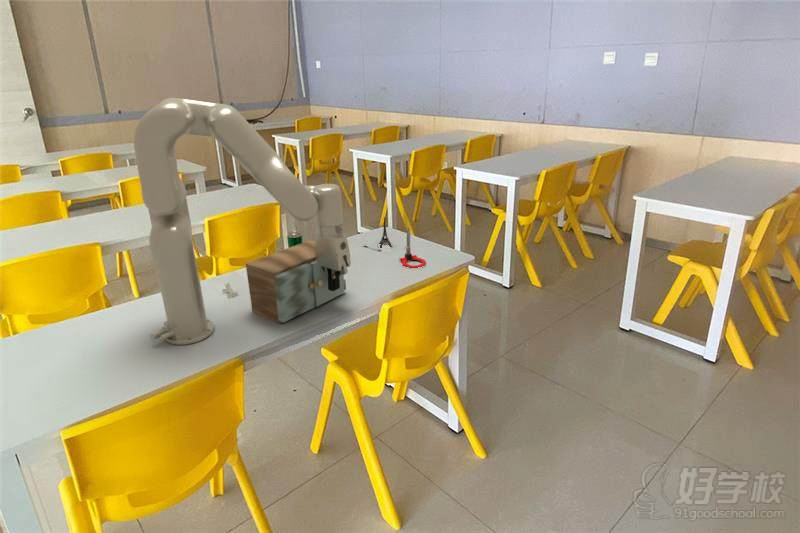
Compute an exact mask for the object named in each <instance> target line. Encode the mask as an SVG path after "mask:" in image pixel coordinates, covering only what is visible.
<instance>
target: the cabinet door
mask: <svg viewBox="0 0 800 533" xmlns="http://www.w3.org/2000/svg"><path fill="white" fill-rule="evenodd" d="M310 264H311V266H312V277H313V283H314V284H315V285H316V287H315V289H314V300H315V307H319V306H321V305H323V304H325V303H328V302H329V301H330V300H333V299H335V298H336V297H339V296H340V295H342V294H344V293H345V292H346V290H347V284H346V283H347V282H346V279H345V278H344V275H341V276H339V280H340V288H339V289H337V290H335V291H331V290H328V279H327V278H328V277H326V275H325V272H324V270H323V266H320V265H319V262H318V261H313V262H311V263H310Z"/></svg>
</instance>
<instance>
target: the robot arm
mask: <svg viewBox="0 0 800 533" xmlns="http://www.w3.org/2000/svg"><path fill="white" fill-rule="evenodd" d="M187 135H190V136H191V135H193V136H199V137H212V138H214V139H215V140H216V142H218V143H219V144H220V145H221V146H222V147H223V148H224V149H225V151H227V152H228V153H229V154H230V155H231V157H232V158H234V160H236V161H237V162H238V163H239V164H240V165H241V167H242V168H243V169H245V171H246V172H247V173H248V174H249V175H250V176H251V177H252V178H253V179H254V180H255V181H256V182H257V183H258V184H260V185H261V186H262V187H263V188H264V189H265V190H266V191H267V192H268V193H269V194H270V195H271V197H272V198H274V200H275V201H276V202H277V203H278V204H280V206H281V207H283V209H284V210H285V211H286V212H287V213H288V214H289V215H291V217H292V218H293V219H295V220H297V221H299V222H309V221H310V220H313V219H314V223H315V236H314V242H315V258H316V261H318V262H319V265H320V266H323V270H324V272H325V275H326V277H328V278H327V279H328V290H331V291H335V290H337V289H339V288H340V280H339V276H341V275H347V274H349V271H348V268H350V266H351V265H352V264H351V263H352V262H351V261H352V260H351V253H350V246H349V241H348V238H347V234H346V233H345V232H346V230H345V228H344V219H343V217H344V216H343V204H342V203H343V202H342V191H341V188H340V186H339V185H338V184H334V183H322V184H318V185H304V184H303V183H302V182H301V181H300V180H299V179H298V178H297V176H295V174H294V173H293V172H292V171H291V170H290V169H289V168H288V166H287V165H286V164H285V162H284V161H283V160H282V158H281V157H280V156H279V154H278V153H277V152H276V151H275V150H274V149H273V148H272V146H270V145H269V143H268V142H267V141H266V140H265V139H264V138H263V136H262V135H260V134H259V132H258V131H257V130H256V129H255V128H254V127H253V126H252V125H251V124H250V122H248V121H247V120H246V118H245V117H244V116H243V115H242V114H241V113H240V112H239V111H238V110H237V109H236V108H235V107H233V106H232V105H229V104H226V103H219V102H218V103H217V102H207V101H202V100H200V101H199V100H193V99H187V98H186V99H185V98H178V97H168V98H165V99H163V100H161V101H160V102H159V103H158V104H157V105H155V106H154V107H152V108H151V109H149V110H148V111H147V112H146V113H145V114H144V115H142V117H141V118H140V119H139V121H138V123H137V124H136V127H135V130H134V133H133V147H134V148H133V149H134V154H135V160H136V165H137V173H138V176H139V177H138V178H139V184H140V188H141V197H142V201H143V204H144V205H145V207H146V208H147V210H148V214H149V218H150V223H151V224H150V225H151V228H150V234H149V238H148V239H149V242H148V244H149V249H150V254H151V258H152V260H153V264H154V266H155V268H154V269H155V271H156V276H157V281H158V284H159V288H160V294H161V297H162V302H163V307H164V311H165V318H166V321H164V322H163V326H162V327H161V328H160V329H158V330H157V329H156V330H154V331H152V332H150V333H149V336H150V338H151V339H152V340H153V341H154V340H156V339H159V338H160V339H161V341H163V340H165V341H166V342H167V343H169V344H172V345H176V346H177V345H179V346H181V345H189V344H190V345H191V344H194V343H197V342H201V341H203V340H205V339H207V338H209V337H210V336H211V335H213V333H214V331H215V323H214V322H213V321H212V320H210V319H207V314H206V313H207V312H206V308H205V302H204V296H203V290H202V285H201V280H200V275H199V270H198V264H197V260H196V256H195V254H196V253H195V249H194V242H193V233H192V229H193V228H192V223H191V216H190V212H189V205H188V200H187V199H188V198H187V193H186V187H185V184H184V182H183V180H182V179H181V178H180V175H179V169H178V163H177V161H178V160H177V156H176V149H175V148H176V144H177V142H178V141H179V140H180V139H182V138H183V137H185V136H187Z"/></svg>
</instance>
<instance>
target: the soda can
mask: <svg viewBox="0 0 800 533" xmlns="http://www.w3.org/2000/svg"><path fill="white" fill-rule="evenodd" d="M286 238H287V248H290V247H293V246H295V245H298V244H301V243H304V242H303V234H302V233H301V231H300V230H292V231H288V232H287V236H286Z"/></svg>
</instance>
